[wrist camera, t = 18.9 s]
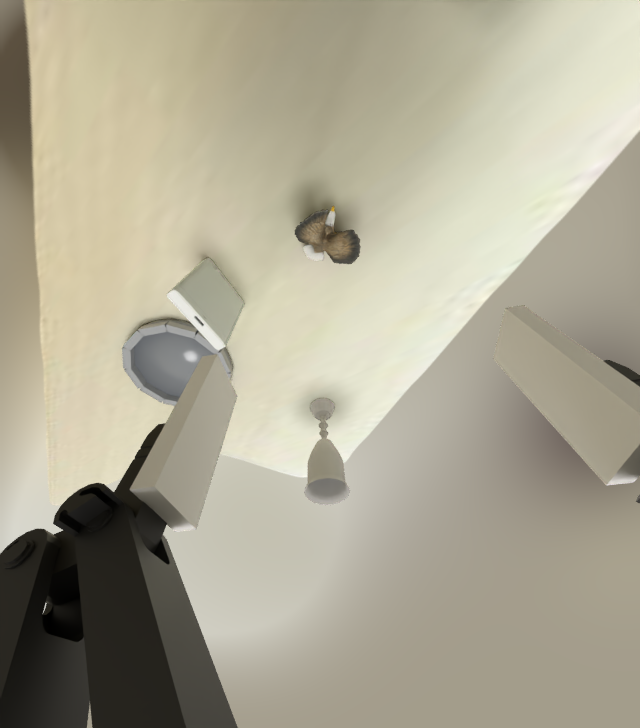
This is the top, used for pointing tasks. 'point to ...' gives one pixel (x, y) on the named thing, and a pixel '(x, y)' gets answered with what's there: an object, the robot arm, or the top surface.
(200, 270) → the external hard drive
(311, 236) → the eagle figurine
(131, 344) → the dish
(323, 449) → the chalice
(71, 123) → the top surface
